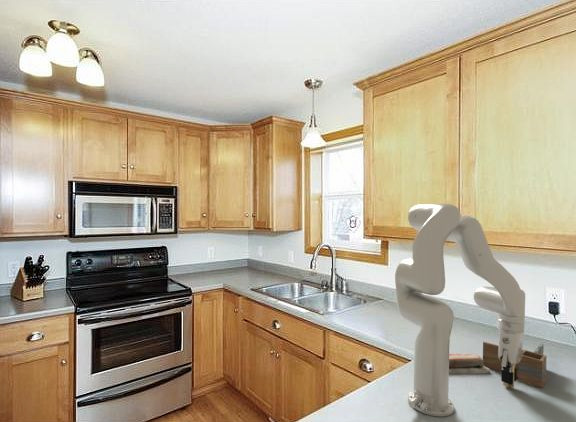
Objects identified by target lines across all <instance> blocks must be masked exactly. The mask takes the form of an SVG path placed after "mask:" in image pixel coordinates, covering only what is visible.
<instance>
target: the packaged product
mask: <svg viewBox="0 0 576 422" xmlns="http://www.w3.org/2000/svg"><path fill="white" fill-rule="evenodd" d="M483 362H484V361H483V357H481V356H480V355H477V354H475V353H449V374H491V373H490V372H491V368H488V367H485V366H483Z"/></svg>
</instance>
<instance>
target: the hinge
mask: <svg viewBox="0 0 576 422" xmlns="http://www.w3.org/2000/svg"><path fill="white" fill-rule="evenodd" d="M498 349H499V344H494V343H490V342H487V341H483V342H482V359H483V361H484V362H483V366H485V367H487V368H488V369H490V370H495V371H498V372H500V373H502V365H501V364H502V360H501V361H500V360H499V357H498ZM547 358H548V357H547V355H545V354H544V343H540V344H539V345H538V347H537V348H536V349H535V350H534V351H529V350H526V349H523V357H522V359H521V360H520V363H518V364H517V366H516V368H515V369H517V370H516V378H517V380H518V382H520V383H521V382H522V383H524V384H528V385H529V386H533V387H537V388H539V389H543V388H544V386H545V384H546V383H547Z"/></svg>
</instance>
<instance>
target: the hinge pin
mask: <svg viewBox="0 0 576 422" xmlns="http://www.w3.org/2000/svg"><path fill="white" fill-rule="evenodd" d="M500 358H502V356H501V357H500ZM520 359H521V358H520ZM520 359H519V362H518V363H520ZM507 362H509V363H511V362H510V360H508V361H507ZM518 363H517V364H518ZM508 365H509V366H510V364H508ZM512 372H513V384H512V385H511V384H508V383H505V382H502V385H503V386H504V387H506V388H509V389H514V388H515V381H514V372H515V365H513V367H512Z"/></svg>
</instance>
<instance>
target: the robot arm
mask: <svg viewBox="0 0 576 422" xmlns="http://www.w3.org/2000/svg"><path fill="white" fill-rule="evenodd" d="M407 221H408V223H409V225H410V227H412V228H413V229H414V230H416V231H417V233H416V235H415V237H414V238H413V242H412V258H405V259H403V260H401V262H400V263H399V264H398V265H397V267H396V270H395V274H394V279H395V293H396V302H397V303H396V304H397V310H398V313H399V314H400V316H401V317H402V318H403V319H404V320H406V321H408V322H410V323H412V324H415V325H416V326H418V327H420V328H419V329H420V330H419V331H418V334H417V335H416V337H415V340H414V354H413V355H414V360H413V361H414V363H413V365H414V366H413V390H412V391H409V393H408V395H407V396H408V397H407V400H408V405H409V407H410V408H412V409H415V410H417V411H418V412H420V413H423V414H425V415H427V416H434V417H441V418H442V417H448V416H450V415H452V414H453V413H454V411H455V406H454V403H453V401H452V400H451V399H450V398H449V379H450V377H449V376H450V373H449V354H450V341H451V334H452V330H453V326H454V320H455V314H454V311H453V310H452V308H451V306H450V305H449V304H447V303H446V302H444V301H443V300H440V299H438V298H435V297H433V296H438V295H440V294H442V293H443V292H444V290H445V288H446V273H445V258H444V257H445V256H444V248H445V243H446V242H452V243H453V242H454V243H455V244H456V247H457V249H458V251H459V253H460V256H461V260H462V262H463V264H464V266H465V268H467V269H468V270H469V271H471V273H473V274H474V275H476V276H478V277H480V278H482V279H483V280H485V281H486V282H488V284H490V285H491V286H481V287H478V288H477V289H476V290H475V292H474V293H473V301H474V303H475V305H477V306H478V307H479V308H481V309H483V310H486V311H490V312H493V313H496V314H497V316H496V318H497V319H496V328H497V329H498V330H499V337H498V346H499V349H498V357H499V360H500V361H501V360H502V364H501V365H502V372H500V373H501V376H500V378H501V379H500V381H501V382H502V383H503V382H505V383H508V384H511V385H512V384H513V372H512V367H513V365H515V368H516V366H517V363H518V362H519V359H520V358H521V359H522V357H523V350H524V348H523V334H524V333H525V321H526V319H525V317H526V292H525V291H524V290H523V289H521V286H520V284H519V283H518V281H517V279H516V278H515V276H513V275H512V273H510V271H508V269H506V268H505V267H504V266H503V265H502V264H501V263H500V262H499V261H498V260H496V259H495V257H494V255H493V252H492V250H491V248H490V245H489V243H488V240H487V237H486V234H485V232H484V229H483V227H482V225H481V223H480V221H479V220H478V219H477V218H475V217H472V216H465V215H461V211H460V209H459V208H458V207H457V206H456V205H453V204H450V203H423V204H421V203H420V204H417V205H414V206H413V207H411V208H410V210H409V212H408V215H407ZM428 295H429V296H428ZM501 356H502V358H500V357H501ZM521 359H520V360H521ZM508 360H510V362H511V363H509V362H507V361H508ZM508 364H510V366H509V365H508ZM516 370H517V369H515V372H514V382H516V381H517V377H516Z"/></svg>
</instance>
